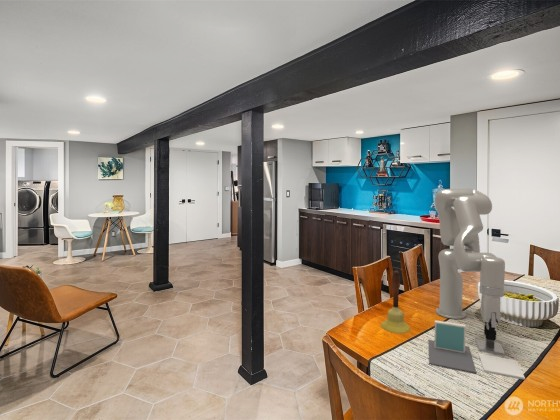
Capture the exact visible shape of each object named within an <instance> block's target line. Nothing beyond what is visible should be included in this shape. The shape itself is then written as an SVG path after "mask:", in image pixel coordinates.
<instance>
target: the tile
mask: <svg viewBox="0 0 560 420" xmlns="http://www.w3.org/2000/svg"><path fill="white" fill-rule="evenodd" d="M466 327H467V326H466V324H461V323H456V322H448V321H443V320H434V340H433V341H434V348H440V349H445V350H451V351H456V352H462V353H465V346H466V336H467V335H466V331H467V330H466Z"/></svg>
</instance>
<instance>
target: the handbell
mask: <svg viewBox="0 0 560 420" xmlns="http://www.w3.org/2000/svg"><path fill="white" fill-rule="evenodd" d="M400 286H401V276H400V272H399V271H398V270H394V271H392V276H391V288H392V290H393V292H392V296H393V298H392V308H390V309H389V310H388V311H387V318H386V319H385V320H383V321H382V322H381V323H380V328H382V329H383V330H384V331H386V332H388V333H392V334H399V335H401V334H408V333H409V332H410V331H411V327H410V326H409V324H408V323H407V322H406V321H405V320H404V319H405V316H404V315H405V314H404V312H403V311H402V310H401V309H400V308H399V294H400V293H399V292H400V291H399V290H400V288H401V287H400Z"/></svg>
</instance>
